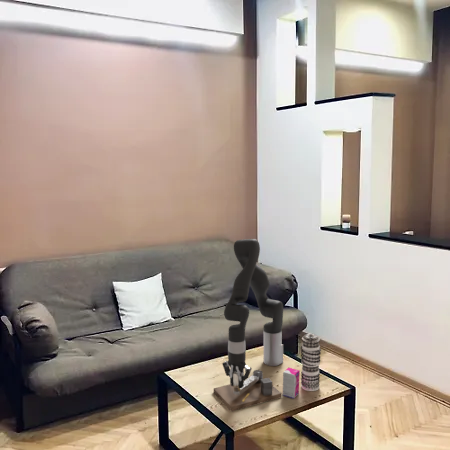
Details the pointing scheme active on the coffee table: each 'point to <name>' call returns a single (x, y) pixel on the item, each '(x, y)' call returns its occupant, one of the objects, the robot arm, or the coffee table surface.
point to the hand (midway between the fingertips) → (236, 386)
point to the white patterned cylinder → (310, 362)
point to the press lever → (246, 381)
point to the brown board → (248, 395)
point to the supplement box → (291, 383)
